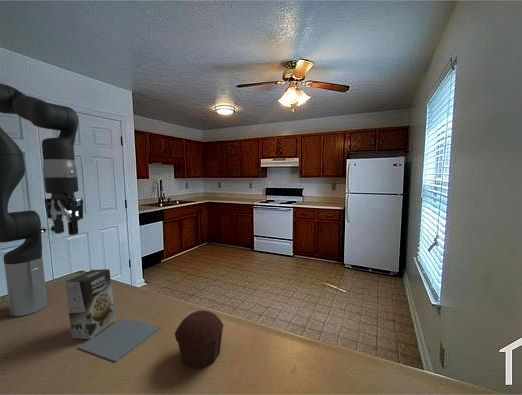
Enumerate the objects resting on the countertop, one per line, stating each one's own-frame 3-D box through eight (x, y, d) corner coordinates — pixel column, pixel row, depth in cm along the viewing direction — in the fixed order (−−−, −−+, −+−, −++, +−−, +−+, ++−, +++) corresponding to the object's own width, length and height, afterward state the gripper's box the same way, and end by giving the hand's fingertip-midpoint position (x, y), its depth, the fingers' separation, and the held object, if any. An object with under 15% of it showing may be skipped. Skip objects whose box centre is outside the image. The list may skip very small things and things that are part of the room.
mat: (77, 348, 64) (77, 347, 64) (125, 318, 77) (125, 317, 77) (116, 362, 59) (115, 361, 59) (160, 328, 72) (160, 327, 72)
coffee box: (90, 340, 67) (83, 281, 66) (71, 338, 68) (63, 281, 67) (117, 320, 76) (110, 268, 74) (99, 319, 77) (92, 268, 76)
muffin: (185, 339, 66) (183, 303, 65) (227, 338, 66) (225, 302, 66) (169, 375, 55) (166, 331, 54) (220, 373, 55) (218, 330, 54)
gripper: (30, 176, 71) (36, 235, 72) (62, 175, 65) (68, 238, 67) (60, 176, 78) (65, 229, 79) (91, 175, 72) (95, 232, 74)
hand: (66, 233), depth 73 cm, fingers open, 6 cm apart
